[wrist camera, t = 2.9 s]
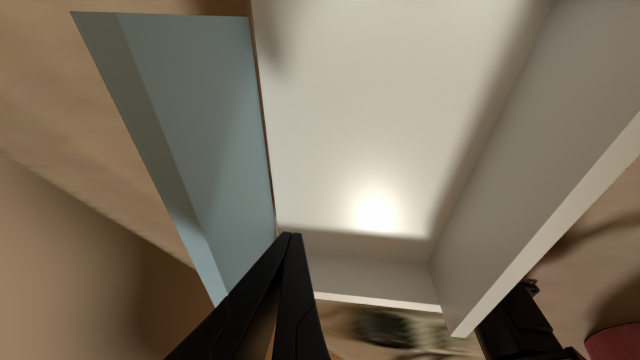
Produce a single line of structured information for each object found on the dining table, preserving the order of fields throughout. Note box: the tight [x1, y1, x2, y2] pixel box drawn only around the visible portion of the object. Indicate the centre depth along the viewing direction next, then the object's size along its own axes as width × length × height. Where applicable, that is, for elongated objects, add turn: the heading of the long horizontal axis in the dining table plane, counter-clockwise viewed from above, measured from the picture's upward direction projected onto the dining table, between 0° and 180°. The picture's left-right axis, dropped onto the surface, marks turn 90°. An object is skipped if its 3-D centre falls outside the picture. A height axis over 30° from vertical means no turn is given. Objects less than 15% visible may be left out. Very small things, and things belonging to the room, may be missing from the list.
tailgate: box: [70, 11, 277, 308], centre depth 12 cm, size 16×2×8 cm, turn 179°
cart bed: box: [251, 0, 640, 338], centre depth 14 cm, size 20×14×8 cm
